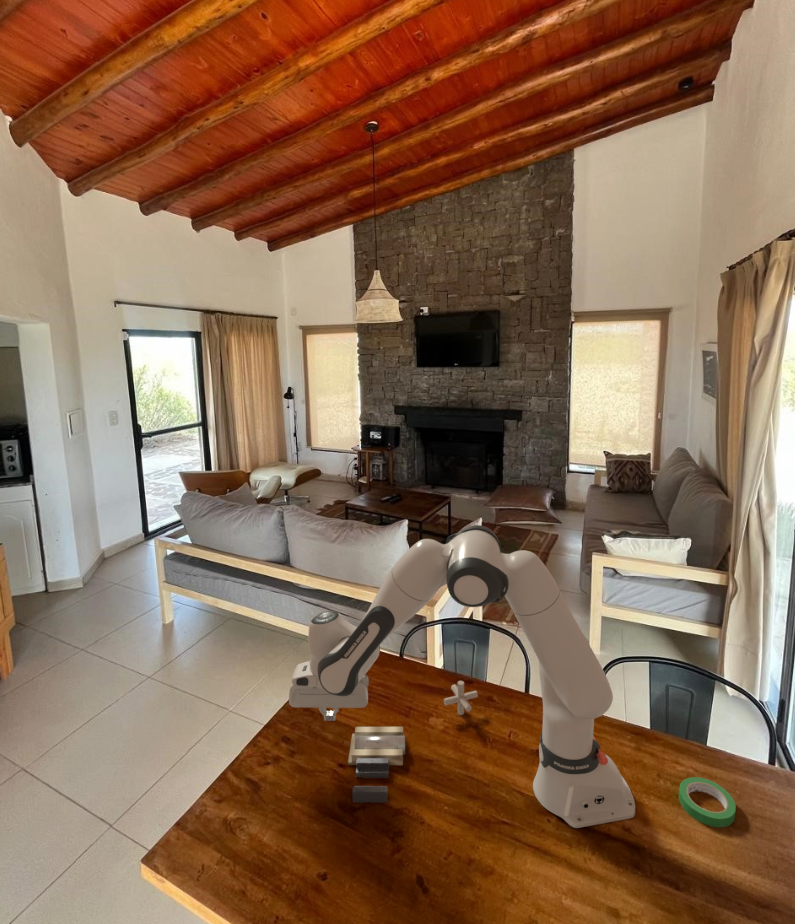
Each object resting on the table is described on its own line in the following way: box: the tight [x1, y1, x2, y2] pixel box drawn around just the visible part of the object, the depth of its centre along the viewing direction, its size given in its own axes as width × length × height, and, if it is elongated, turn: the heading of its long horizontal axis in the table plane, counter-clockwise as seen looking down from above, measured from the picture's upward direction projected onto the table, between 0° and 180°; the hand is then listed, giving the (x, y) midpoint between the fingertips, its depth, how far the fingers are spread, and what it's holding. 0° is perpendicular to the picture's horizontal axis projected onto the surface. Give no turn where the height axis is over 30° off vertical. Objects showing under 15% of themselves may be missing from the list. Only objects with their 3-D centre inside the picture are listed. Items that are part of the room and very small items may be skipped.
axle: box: [355, 735, 406, 756], centre depth 136 cm, size 13×4×4 cm, turn 88°
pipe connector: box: [443, 680, 479, 716], centre depth 148 cm, size 10×10×10 cm
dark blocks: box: [351, 758, 390, 804], centre depth 126 cm, size 8×10×3 cm
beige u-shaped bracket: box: [347, 726, 404, 766], centre depth 136 cm, size 14×10×3 cm
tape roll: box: [678, 776, 737, 828], centre depth 118 cm, size 11×11×3 cm
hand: (329, 719), depth 135 cm, fingers closed
